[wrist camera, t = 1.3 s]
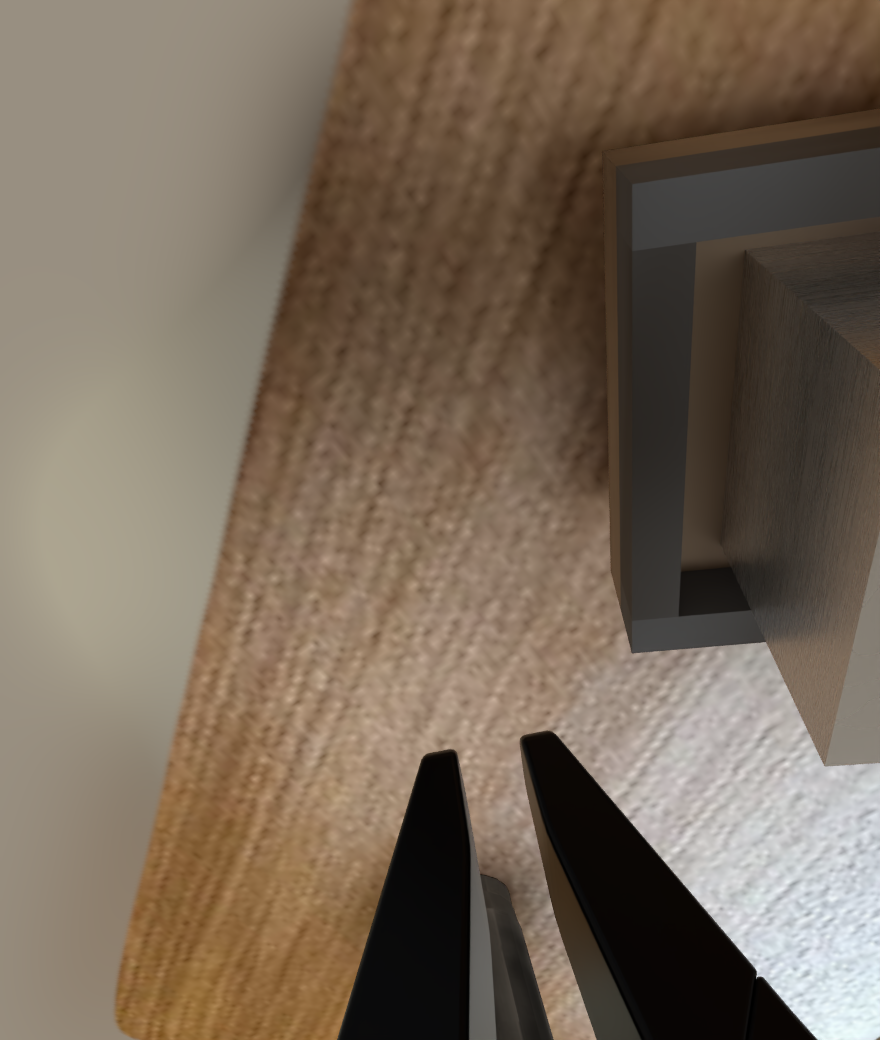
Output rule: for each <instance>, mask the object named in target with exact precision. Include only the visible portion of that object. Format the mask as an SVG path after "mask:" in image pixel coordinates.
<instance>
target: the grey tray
mask: <svg viewBox="0 0 880 1040" xmlns="http://www.w3.org/2000/svg"><path fill="white" fill-rule="evenodd" d="M602 162H603V211H604V260H605V310H606V359H607V408H608V457H609V507H610V556H611V573H612V577H613V581H614V585H615V589H616V593H617V597H618V600H619V604H620V608H621V612H622V616H623V620H624V624H625V628H626V632H627V635H628V639H629V643H630V647H631V651H632V653H641V652H653V651H665V650H677V649H688V648H700V647H712V646H724V645H736V644H748V643H760V642H766V641H765V638H764V636H763V634H762V632H761V630H760V628H759V626H758V624H757V621H756V619H755V617H754V615H753V613H752V611H751V609H750V607H749V604H748V602H747V600H746V598H745V596H744V594H743V592H742V589H741V587H740V585H739V583H738V581H737V579H736V577H735V575H734V572H733V570H732V568H731V566H730V564H729V562H728V560H727V558H726V555H725V553H724V551H723V549H722V547H721V545H720V542H721V530H722V518H723V506H724V495H725V483H726V471H727V459H728V447H729V435H730V424H731V412H732V400H733V388H734V376H735V364H736V353H737V341H738V329H739V317H740V305H741V293H742V282H743V270H744V258H745V250H748V249H755V248H762V247H770V246H777V245H784V244H791V243H799V242H806V241H813V240H821V239H828V238H835V237H842V236H850V235H857V234H864V233H871V232H879V231H880V109H873V110H867V111H860V112H854V113H847V114H841V115H834V116H828V117H821V118H815V119H808V120H802V121H795V122H789V123H782V124H776V125H769V126H763V127H756V128H750V129H743V130H737V131H730V132H724V133H717V134H711V135H704V136H698V137H691V138H685V139H678V140H672V141H665V142H659V143H652V144H646V145H639V146H633V147H626V148H620V149H613V150H607V151H602Z"/></svg>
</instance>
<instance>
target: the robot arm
mask: <svg viewBox="0 0 880 1040" xmlns="http://www.w3.org/2000/svg"><path fill="white" fill-rule="evenodd" d="M520 749H521V757H522V764H523V772H524V779H525V785H526V790H527V795H528V799H529V804H530V808H531V813H532V817H533V822H534V826H535V831H536V835H537V840H538V844H539V849H540V853H541V858H542V862H543V867H544V871H545V876H546V880H547V885H548V889H549V894H550V898H551V902H552V906H553V910H554V914H555V918H556V921H557V924H558V927H559V931H560V934H561V937H562V940H563V943H564V946H565V949H566V952H567V955H568V957H569V960H570V963H571V966H572V969H573V972H574V975H575V978H576V981H577V984H578V987H579V989H580V992H581V995H582V998H583V1001H584V1004H585V1007H586V1010H587V1013H588V1016H589V1018H590V1021H591V1024H592V1027H593V1030H594V1033H595V1036H596V1039H597V1040H817V1039H816V1037H815V1036H814V1035H813V1034H812V1033H811V1032H810V1031H809V1030H808V1029H807V1027H806V1026H805V1025H804V1024H803V1023H802V1022H801V1021H800V1020H799V1018H798V1017H797V1016H796V1015H795V1014H794V1013H793V1012H792V1011H791V1009H790V1008H789V1007H788V1006H787V1005H786V1004H785V1002H784V1001H783V1000H782V999H781V998H780V997H779V995H778V994H777V993H776V992H775V991H774V989H773V988H772V987H771V986H770V985H769V984H768V982H767V981H766V980H765V979H764V978H763V977H757V979H756V975H757V971H756V969H755V968H754V967H753V965H752V964H751V963H750V962H749V961H748V959H747V958H746V957H745V956H744V955H743V954H742V952H741V951H740V950H739V949H738V948H737V947H736V945H735V944H734V943H733V942H732V941H731V939H730V938H729V937H728V936H727V935H726V934H725V932H724V931H723V930H722V929H721V928H720V927H719V925H718V924H717V923H716V922H715V921H714V920H713V918H712V917H711V916H710V915H709V914H708V912H707V911H706V910H705V909H704V908H703V907H702V905H701V904H700V903H699V902H698V901H697V900H696V898H695V897H694V896H693V895H692V894H691V892H690V891H689V890H688V889H687V888H686V887H685V885H684V884H683V883H682V882H681V881H680V880H679V878H678V877H677V876H676V875H675V874H674V873H673V871H672V870H671V869H670V868H669V867H668V865H667V864H666V863H665V862H664V861H663V860H662V858H661V857H660V856H659V855H658V854H657V853H656V851H655V850H654V849H653V848H652V847H651V845H650V844H649V843H648V842H647V841H646V840H645V838H644V837H643V836H642V835H641V834H640V833H639V831H638V830H637V829H636V828H635V827H634V826H633V824H632V823H631V822H630V821H629V820H628V818H627V817H626V816H625V815H624V814H623V813H622V811H621V810H620V809H619V808H618V807H617V806H616V804H615V803H614V802H613V801H612V800H611V798H610V797H609V796H608V795H607V794H606V793H605V791H604V790H603V789H602V788H601V787H600V786H599V784H598V783H597V782H596V781H595V780H594V779H593V777H592V776H591V775H590V774H589V773H588V771H587V770H586V769H585V768H584V767H583V766H582V764H581V763H580V762H579V761H578V760H577V759H576V757H575V756H574V755H573V754H572V753H571V751H570V750H569V749H568V748H567V747H566V746H565V744H564V743H563V742H562V741H561V740H560V739H559V737H558V736H557V735H556V734H554V733H553V732H552V731H542V732H537V733H532V734H526V735H523V736H522V737H521V738H520ZM337 1040H497V1039H496V1022H495V1006H494V989H493V973H492V956H491V944H490V933H489V925H488V918H487V912H486V906H485V900H484V894H483V889H482V883H481V877H480V871H479V866H478V860H477V854H476V849H475V843H474V837H473V832H472V826H471V820H470V814H469V809H468V803H467V798H466V792H465V788H464V783H463V778H462V773H461V768H460V764H459V759H458V755H457V752H456V751H455V750H453V749H448V750H443V751H438V752H433V753H428V754H426V755H425V756H424V757H423V758H422V760H421V763H420V766H419V770H418V773H417V776H416V780H415V783H414V786H413V789H412V793H411V796H410V799H409V803H408V806H407V809H406V813H405V816H404V819H403V823H402V826H401V829H400V833H399V836H398V839H397V843H396V846H395V849H394V853H393V856H392V859H391V863H390V866H389V869H388V873H387V876H386V879H385V883H384V886H383V889H382V893H381V896H380V899H379V903H378V906H377V909H376V913H375V916H374V919H373V923H372V926H371V929H370V932H369V936H368V939H367V942H366V946H365V949H364V952H363V956H362V959H361V962H360V966H359V969H358V972H357V976H356V979H355V982H354V986H353V989H352V992H351V996H350V999H349V1002H348V1006H347V1009H346V1012H345V1016H344V1019H343V1022H342V1026H341V1029H340V1032H339V1036H338V1039H337Z"/></svg>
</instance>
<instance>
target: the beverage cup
mask: <svg viewBox="0 0 880 1040" xmlns="http://www.w3.org/2000/svg"><path fill="white" fill-rule="evenodd" d="M480 877H481V883H482V889H483V894H484V900H485V906H486V912H487V918H488V925H489V933H490V944H491V956H492V973H493V989H494V1006H495V1022H496V1039H497V1040H553V1036H552V1033H551V1029H550V1026H549V1023H548V1019H547V1016H546V1012H545V1009H544V1005H543V1002H542V998H541V995H540V991H539V988H538V984H537V981H536V978H535V974H534V971H533V967H532V964H531V960H530V957H529V953H528V950H527V946H526V943H525V940H524V936H523V933H522V929H521V927H520V925H519V923H518V921H517V918H516V914H515V911H514V909H513V907H512V903H511V898H510V893H509V891H508V889H507V887H506V886H505V885H504V884H503V883H501V882H500V881H499V880H497V879H494V878H491V877H488V876H485V875H480Z"/></svg>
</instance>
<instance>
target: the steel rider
mask: <svg viewBox="0 0 880 1040" xmlns="http://www.w3.org/2000/svg"><path fill="white" fill-rule="evenodd" d="M720 545H721V547H722V549H723V551H724V553H725V555H726V558H727V560H728V562H729V564H730V566H731V568H732V570H733V572H734V575H735V577H736V579H737V581H738V583H739V585H740V587H741V589H742V592H743V594H744V596H745V598H746V600H747V602H748V604H749V607H750V609H751V611H752V613H753V615H754V617H755V619H756V621H757V624H758V626H759V628H760V630H761V632H762V634H763V636H764V638H765V641H766V643H767V645H768V647H769V649H770V651H771V653H772V655H773V658H774V660H775V662H776V664H777V666H778V668H779V670H780V672H781V675H782V677H783V679H784V681H785V683H786V685H787V687H788V689H789V692H790V694H791V696H792V698H793V700H794V702H795V704H796V706H797V709H798V711H799V713H800V715H801V717H802V719H803V721H804V723H805V726H806V728H807V730H808V732H809V734H810V736H811V738H812V741H813V743H814V745H815V747H816V749H817V751H818V753H819V755H820V758H821V760H822V762H823V764H824V766H839V765H854V764H869V763H880V231H879V232H871V233H864V234H857V235H850V236H842V237H835V238H828V239H821V240H813V241H806V242H799V243H791V244H784V245H777V246H770V247H762V248H755V249H748V250H745V258H744V270H743V282H742V293H741V305H740V317H739V329H738V341H737V353H736V364H735V376H734V388H733V400H732V412H731V424H730V435H729V447H728V459H727V471H726V483H725V495H724V506H723V518H722V530H721V542H720Z"/></svg>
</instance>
